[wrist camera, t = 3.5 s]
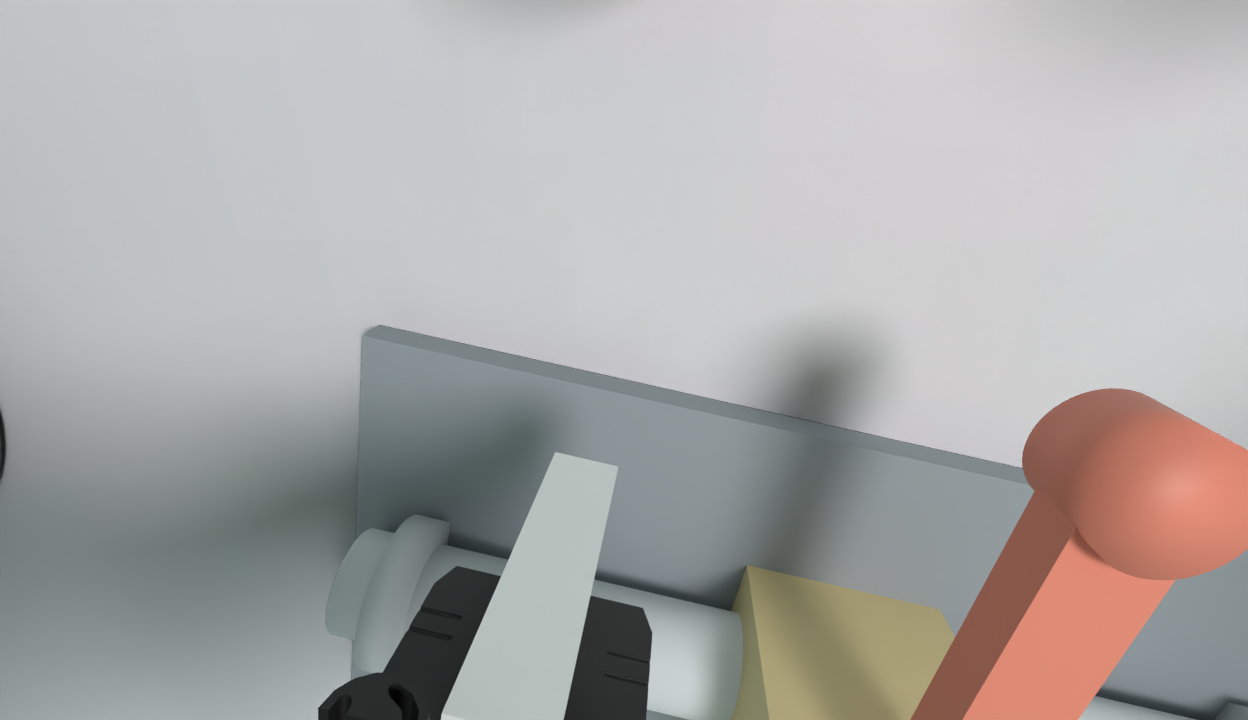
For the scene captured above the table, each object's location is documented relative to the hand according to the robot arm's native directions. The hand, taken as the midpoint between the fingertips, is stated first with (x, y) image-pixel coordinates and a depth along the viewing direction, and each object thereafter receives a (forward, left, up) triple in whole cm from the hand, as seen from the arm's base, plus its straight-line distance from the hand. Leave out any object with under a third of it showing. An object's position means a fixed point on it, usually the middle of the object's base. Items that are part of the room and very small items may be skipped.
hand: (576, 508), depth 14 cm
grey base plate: (+10, -8, -7) cm, 14 cm away
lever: (+10, -2, +1) cm, 10 cm away
